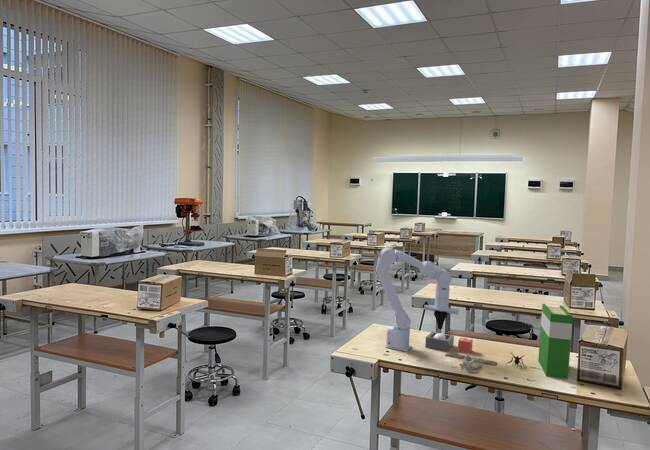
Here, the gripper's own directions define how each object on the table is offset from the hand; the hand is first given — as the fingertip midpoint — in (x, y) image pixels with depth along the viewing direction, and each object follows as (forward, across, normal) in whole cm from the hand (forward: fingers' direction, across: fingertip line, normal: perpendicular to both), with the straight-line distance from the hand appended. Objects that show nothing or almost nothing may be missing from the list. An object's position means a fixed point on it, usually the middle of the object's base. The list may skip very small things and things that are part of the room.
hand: (440, 328), depth 197 cm
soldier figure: (+10, -16, +16) cm, 25 cm away
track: (+9, -14, +4) cm, 17 cm away
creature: (+10, -32, +2) cm, 33 cm away
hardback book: (+10, -44, -3) cm, 45 cm away
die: (+9, -10, -5) cm, 15 cm away
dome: (+9, +1, -5) cm, 11 cm away
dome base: (+9, +1, -5) cm, 11 cm away
